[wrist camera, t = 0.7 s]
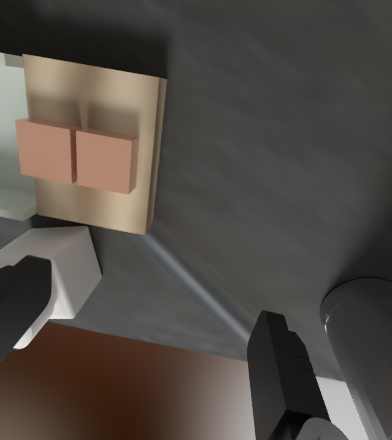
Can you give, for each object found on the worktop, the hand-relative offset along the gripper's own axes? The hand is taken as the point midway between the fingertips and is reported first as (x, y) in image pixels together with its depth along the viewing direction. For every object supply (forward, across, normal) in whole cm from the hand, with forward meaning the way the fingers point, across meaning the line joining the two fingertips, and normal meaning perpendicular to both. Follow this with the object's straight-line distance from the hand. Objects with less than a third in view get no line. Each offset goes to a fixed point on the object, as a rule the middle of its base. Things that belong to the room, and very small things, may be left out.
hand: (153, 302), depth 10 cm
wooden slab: (+19, +9, 0) cm, 21 cm away
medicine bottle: (+19, +12, +13) cm, 27 cm away
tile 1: (+16, +7, 0) cm, 17 cm away
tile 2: (+16, +12, 0) cm, 20 cm away
